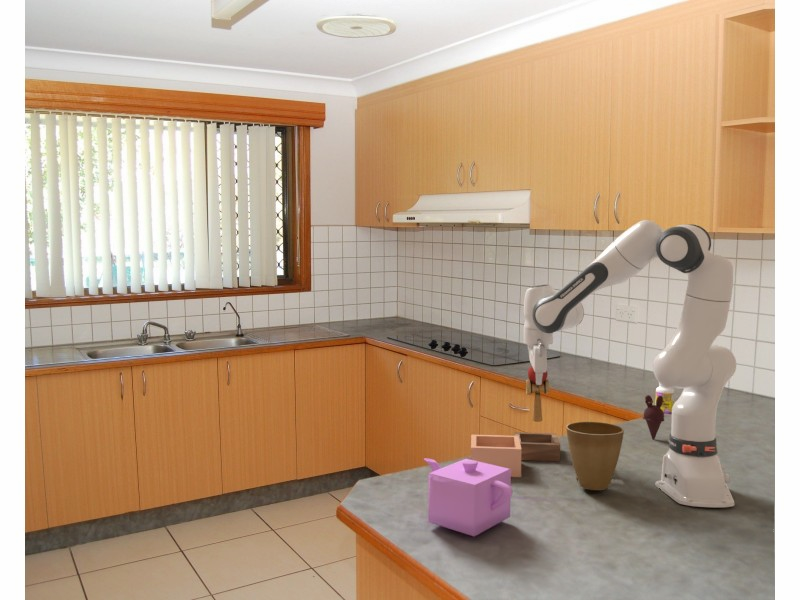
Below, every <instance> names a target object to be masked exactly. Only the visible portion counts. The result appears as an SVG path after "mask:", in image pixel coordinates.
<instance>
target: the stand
mask: <svg viewBox="0 0 800 600" xmlns="http://www.w3.org/2000/svg"><path fill="white" fill-rule="evenodd" d="M470 441H471V442H470V460H475V461H478V462H483V463H487V464H491V465H496V466H500V467H504V468H509V469H510V470H511V478H522V460H521V445H520V440H519V436H514V435H500V434H499V435H498V434H495V435H494V434H471V438H470Z"/></svg>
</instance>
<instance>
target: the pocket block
mask: <svg viewBox="0 0 800 600" xmlns="http://www.w3.org/2000/svg"><path fill="white" fill-rule="evenodd" d="M513 434H514V435H513V436H519V440H520V445H521V461H540V462H541V461H546V462H548V461H549V462H561V443H560V441H559V438H558V435H557V433H555V432H554V433H553V432H551V433H550V432H548V433H547V432H517V431H516V432H515V431H514V433H513Z"/></svg>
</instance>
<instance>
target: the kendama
mask: <svg viewBox="0 0 800 600" xmlns="http://www.w3.org/2000/svg"><path fill="white" fill-rule="evenodd" d="M548 374H549V373H548V370H547V371H546V372H543V376H542V384H541V385H537V384H536V373H535V371H534V369H533V367H532V365H531V366H530V367H529V368H528V370H527V377H528V379H525V394H526V395H527V396H528V395H529V396H530V395H532V394H533V393H534V398H533V399H534V400H533V409H532V410H533V411H532V421H533V422H537V423H539V422H540V423H541V422H542V421H543V413H542V411H543V409H542V397H541V392H542V393H544V394H545V395H546V394H547V395H549V394H550V384H549V383H550V382H549V379H547V378H548Z"/></svg>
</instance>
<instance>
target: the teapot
mask: <svg viewBox="0 0 800 600" xmlns="http://www.w3.org/2000/svg"><path fill="white" fill-rule="evenodd" d="M423 460H424V461H425V462H426V463H427V464H428V465H429V467H430V469H431V472H429V473H428V507H427V508H428V512H427V514H428V519H427V520H428V521H427V522H428V523H430V524H433V525H436V526H439V527H442V528H446V529H449V530H452V531H456V532H459V533H462V534H464V535H467V536H468V535H469V536H472V537H474V538H475V537H477V536H478V535H480V534H482V533H484V532H485V531H488V530H489V529H491V528H493V527H494V526H496V525H498V524H500V523H502V522H504V521H505V520H507V519H509V518H510V517H511V498H512V496H513V488H512V487H511V481H512V480H511V478H512V477H511V470H510V469H509V468H504V467H500V466H496V465H491V464H487V463H483V462H478V461H475V460H471V458H470V459H468V458H464V459H461V460H459V461H456V462H454V463H450V464H448V465H446V466H444V467H441V466H440V464H439V463H438V462H437V461H436V460H435V459H432V458H427V457H426V458H423Z"/></svg>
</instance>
